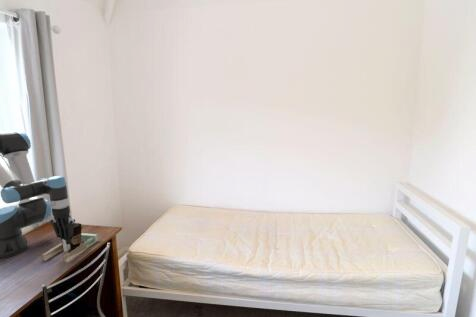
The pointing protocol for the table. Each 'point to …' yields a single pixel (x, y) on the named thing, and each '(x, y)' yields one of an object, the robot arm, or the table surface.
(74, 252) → the rail outer
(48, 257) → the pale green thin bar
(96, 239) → the backstop
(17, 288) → the table surface
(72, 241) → the coffee cup
